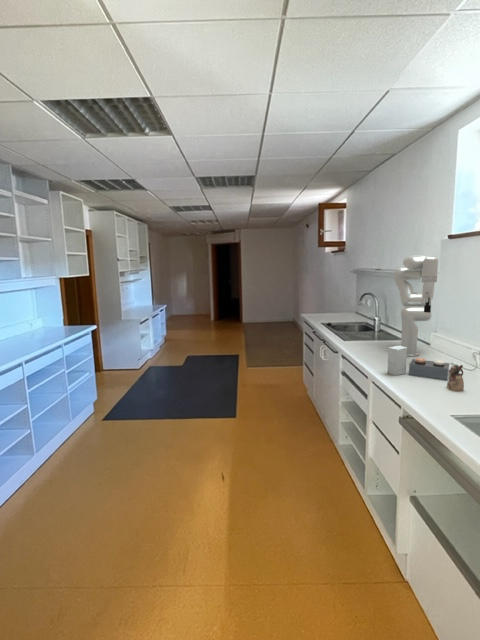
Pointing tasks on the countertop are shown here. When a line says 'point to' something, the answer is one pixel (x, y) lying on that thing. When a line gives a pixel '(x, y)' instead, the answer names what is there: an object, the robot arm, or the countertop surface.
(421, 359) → the knob
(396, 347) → the skincare box
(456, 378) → the figurine
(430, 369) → the housing
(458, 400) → the countertop surface
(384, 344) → the countertop surface
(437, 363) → the knob
